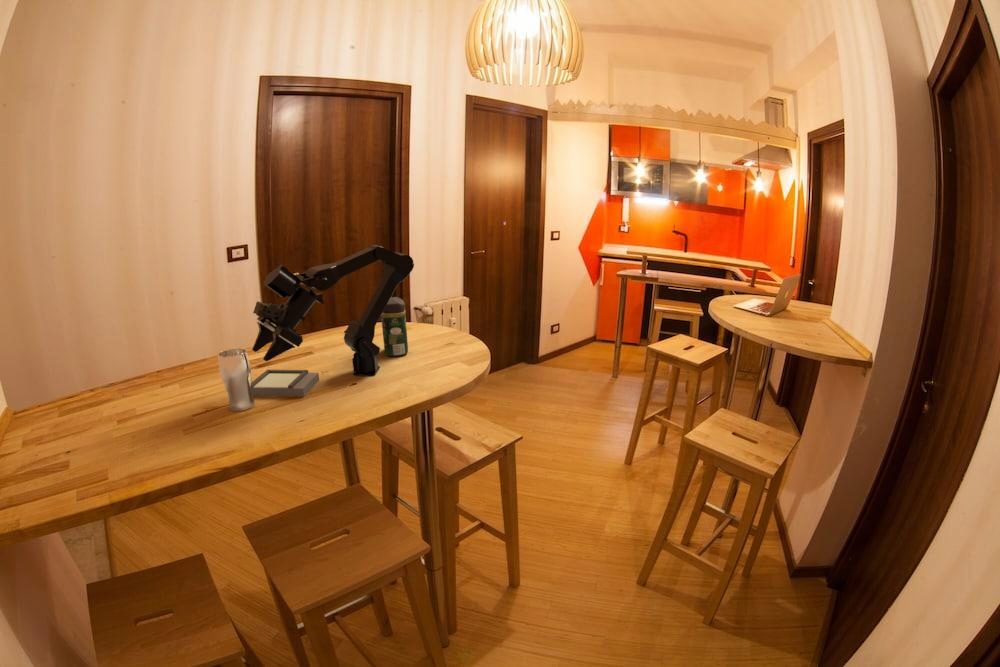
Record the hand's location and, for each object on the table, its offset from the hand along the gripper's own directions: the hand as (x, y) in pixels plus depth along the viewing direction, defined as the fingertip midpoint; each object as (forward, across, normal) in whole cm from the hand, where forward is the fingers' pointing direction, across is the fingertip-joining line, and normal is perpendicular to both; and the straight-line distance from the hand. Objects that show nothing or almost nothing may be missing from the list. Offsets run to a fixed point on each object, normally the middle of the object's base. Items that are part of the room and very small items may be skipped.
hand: (259, 355), depth 131 cm
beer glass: (+13, 0, +5) cm, 14 cm away
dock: (+4, -4, +14) cm, 15 cm away
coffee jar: (-23, -9, +40) cm, 47 cm away
